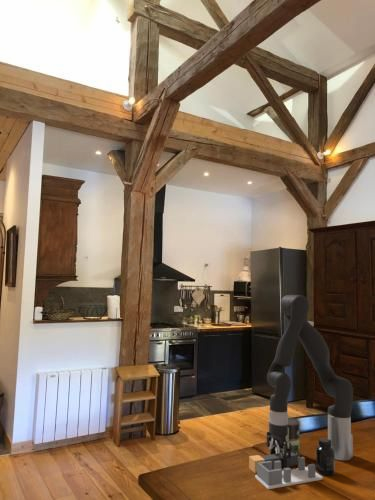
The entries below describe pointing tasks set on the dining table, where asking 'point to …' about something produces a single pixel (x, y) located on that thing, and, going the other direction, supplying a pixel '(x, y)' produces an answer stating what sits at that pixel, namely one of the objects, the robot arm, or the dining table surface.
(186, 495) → the dining table surface
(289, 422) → the coffee can
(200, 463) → the dining table surface
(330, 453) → the supplement bottle
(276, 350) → the robot arm
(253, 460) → the grey orange bar
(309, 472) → the white grey holder tray
